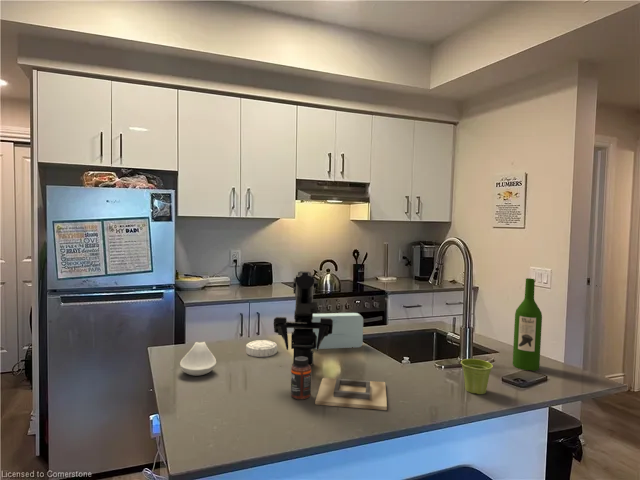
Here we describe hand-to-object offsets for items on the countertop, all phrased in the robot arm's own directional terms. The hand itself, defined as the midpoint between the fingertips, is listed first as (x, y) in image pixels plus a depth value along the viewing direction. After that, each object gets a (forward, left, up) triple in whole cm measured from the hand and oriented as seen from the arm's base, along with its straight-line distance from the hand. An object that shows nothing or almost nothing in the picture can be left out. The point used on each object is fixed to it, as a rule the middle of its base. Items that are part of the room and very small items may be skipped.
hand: (302, 349), depth 132 cm
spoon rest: (-38, +12, -12) cm, 42 cm away
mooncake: (-21, +32, -12) cm, 41 cm away
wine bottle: (+78, +35, -12) cm, 86 cm away
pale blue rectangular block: (+6, +45, -12) cm, 47 cm away
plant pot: (+54, +8, -12) cm, 56 cm away
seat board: (+16, -2, -12) cm, 20 cm away
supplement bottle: (+1, -6, -12) cm, 14 cm away
